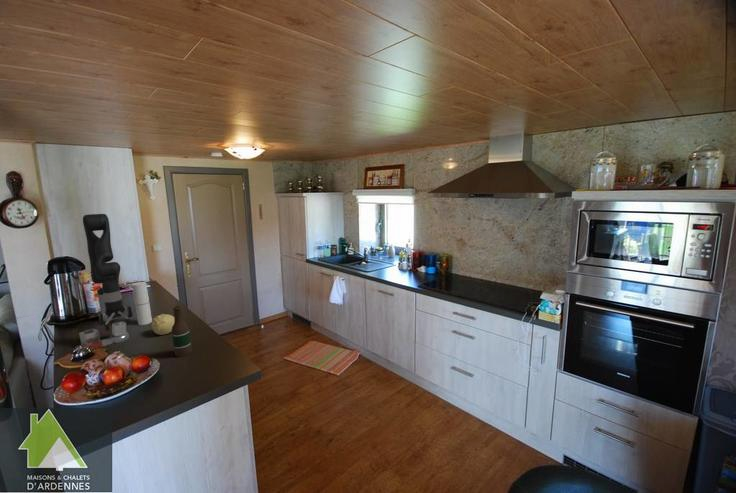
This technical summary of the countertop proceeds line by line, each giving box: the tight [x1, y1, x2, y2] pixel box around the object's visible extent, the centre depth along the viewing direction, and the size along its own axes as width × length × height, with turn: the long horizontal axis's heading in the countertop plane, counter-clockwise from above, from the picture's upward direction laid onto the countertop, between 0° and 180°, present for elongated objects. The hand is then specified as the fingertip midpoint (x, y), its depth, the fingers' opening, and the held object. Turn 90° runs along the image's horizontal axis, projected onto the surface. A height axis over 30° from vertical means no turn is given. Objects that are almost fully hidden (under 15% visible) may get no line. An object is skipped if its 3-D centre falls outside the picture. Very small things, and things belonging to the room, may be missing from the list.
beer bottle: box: [171, 305, 193, 358], centre depth 161 cm, size 8×8×24 cm
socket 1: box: [78, 328, 101, 346], centre depth 177 cm, size 6×6×8 cm
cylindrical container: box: [131, 281, 153, 326], centre depth 202 cm, size 7×7×25 cm
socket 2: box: [111, 321, 127, 337], centre depth 180 cm, size 5×5×7 cm
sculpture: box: [151, 313, 174, 336], centre depth 188 cm, size 12×12×11 cm
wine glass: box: [75, 331, 130, 350], centre depth 175 cm, size 8×22×7 cm, turn 140°
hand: (118, 327), depth 179 cm, fingers open, 8 cm apart
